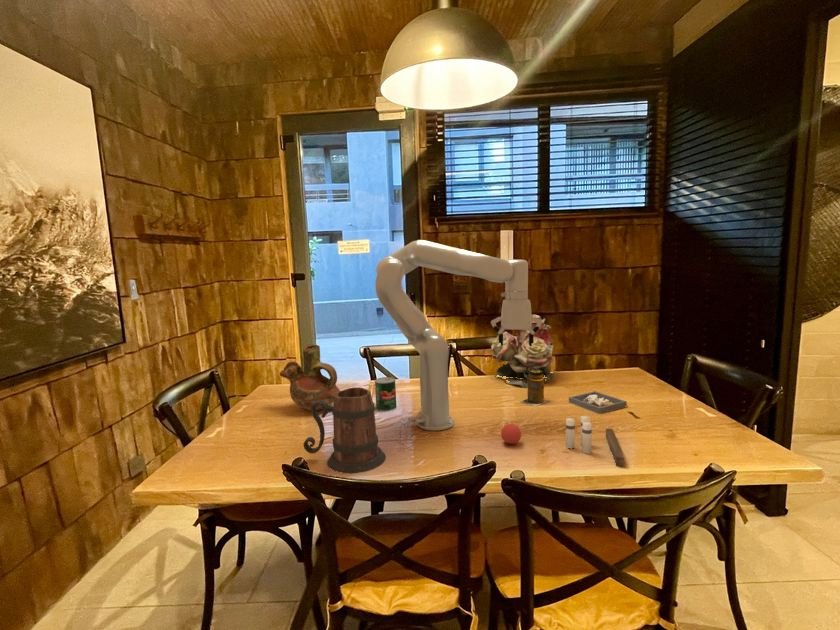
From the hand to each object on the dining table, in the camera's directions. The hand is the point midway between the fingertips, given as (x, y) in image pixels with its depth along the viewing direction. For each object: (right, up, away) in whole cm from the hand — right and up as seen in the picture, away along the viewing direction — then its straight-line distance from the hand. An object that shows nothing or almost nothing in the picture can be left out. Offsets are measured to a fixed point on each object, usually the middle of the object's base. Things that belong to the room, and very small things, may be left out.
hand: (515, 345), depth 156 cm
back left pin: (+16, -28, -23) cm, 39 cm away
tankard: (-55, -32, -26) cm, 68 cm away
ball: (-6, -26, -20) cm, 33 cm away
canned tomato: (-46, -25, +17) cm, 55 cm away
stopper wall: (+22, -28, -27) cm, 45 cm away
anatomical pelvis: (+32, -23, +11) cm, 41 cm away
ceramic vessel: (-75, -26, +19) cm, 82 cm away
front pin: (+11, -28, -24) cm, 39 cm away
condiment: (+11, -23, +17) cm, 31 cm away
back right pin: (+14, -29, -28) cm, 42 cm away
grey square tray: (+32, -23, +11) cm, 41 cm away
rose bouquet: (+15, -19, +47) cm, 53 cm away
